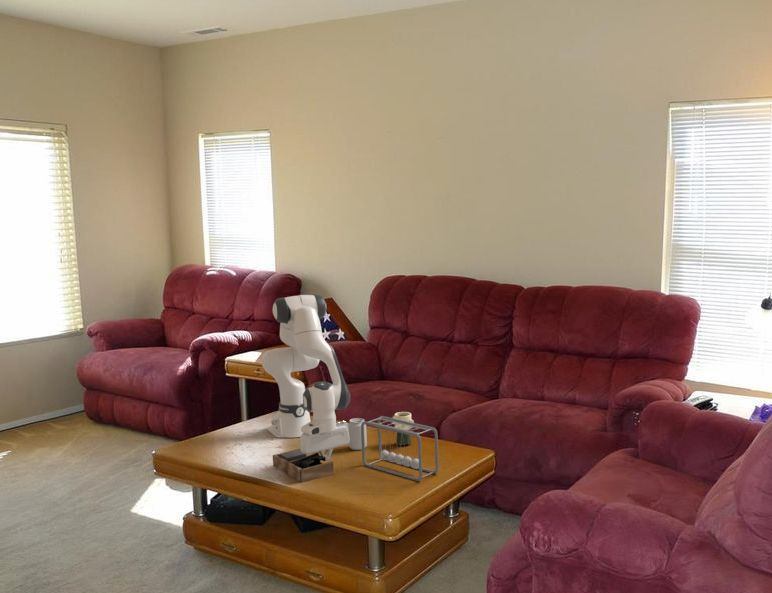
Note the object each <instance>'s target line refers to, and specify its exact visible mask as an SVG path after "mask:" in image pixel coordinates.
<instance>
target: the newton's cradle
mask: <svg viewBox="0 0 772 593" xmlns="http://www.w3.org/2000/svg"><path fill="white" fill-rule="evenodd" d="M375 421H377V422H375ZM381 421H383V422H381ZM386 422H387V425H385V424H383V423H386ZM389 422H390V424H389ZM393 422H394V423H398V424H402V428H403V425H407V426H409V427H410V426H411V427H413V428H414V429H413V428H412V430H409V431H408V430H404V428H403V429H399V428H395V426H390V425H392V424H393ZM364 425H366V426H371V427H373V428H374V427H375V428H377V438H378V440H377V441H378V442H377V443H378V455H379V458H380V459H377V460H375V461H372V462H370V463H368V462H367V461H366V447H365V443H364ZM393 425H394V424H393ZM399 426H400V425H399ZM396 427H397V426H396ZM406 428H407V427H406ZM382 429H383V430H385V431H386V434H385V435H386V436H385V438H387V437H388V440H390V439H389V436H388V434H389V433H388V432H389V431H391V432H393V433H397V432H399V433H403V434H407V435H409V436H410V438H411V439H412V437H415V438H416V440H417V446H416V449H415V452H414V451H412V454H413V455H415V454H417V453H418V454H417V455H418V458H417V457H416V456H413V459H412V458H411V456H408V455H409V453H407V452H406V450H404V453H405V456H404V455H402V453H400V452H397V454H396V453H395V452H393V450H394V448H392V449H391V447H389V448H390V452H389V450H387V449H385V448H386V445H387V443H386V442H385V444H384V442H383V441H382V440H383V438H382V437H383V436H382ZM418 429H420V430H421V429H422V430H424V431H422V432H419V431H417V432H415V431H414V430H418ZM429 431H432V432H433V433H434V456H435V458H434V460H435V462H434V463H435V466H434V467H435V470H434V469H433V470H432V469H429V468H425V467H423V458H422V456H423V454H422V451H423V450H422V438H421V436H420V434H424V433H426V432H429ZM403 434H401V438H402V436H403ZM411 436H412V437H411ZM438 436H439V435H438V430H437V429H436V428H435V427H434V426H429V425H425V424H424V425H423V424H419V423H415V422H414V423H411V422H407V421H403V420H398V419H394V418H393V417H389V416H385V415H380V416H379V417H378V418H374V419H372V420H369V421H364V422H362V424H361V441H362V450H361V459H362V463H363V465H364V466H365V467H367V468H371V469H374V470H378V471H380V472H385V473H388V474H391V475H395V476H398V477H401V478H405V479H409V480H410V481H411V480H413V481H414V482H415V481H416V482H420V481H421V480H422V479H423V478H425V477H427V476H430V475H432V474H433V475H436V474H438V473H439V469H440V468H439V439H438V438H439V437H438ZM395 439H397V435H394V437H393V439H392V442H393V443H394V440H395ZM403 442H404V440H403ZM395 443H396V445H398V444H397V441H396V440H395ZM388 444H389V446H391V443H390V441H388ZM410 444H413V442H412V440H411V443H410ZM410 444H409V443H408V444H407V448H409V445H410ZM384 445H385V447H382V446H384ZM399 446H400V447H399V448H398V446H396V450H401V448H402V445H399ZM403 446H404V447H403V448H404V449H406V446H405V445H403ZM413 447H414V445H411V449H412V450H414V448H413ZM382 449H383V450H382ZM417 450H418V452H417ZM414 453H415V454H414ZM380 461H386V462H389V463H394V464H396V465H401V466H403V467H408V468H412V469H415V470H418V477H416V476H412V475H408V474H405V473H401V472H399V471H394V470H391V469H387V468H384V467H381V466H377V465H374V464H375V463H377V462H380ZM423 472H425V473H426V474H425V475H423Z"/></svg>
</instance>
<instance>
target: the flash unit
mask: <svg viewBox="0 0 772 593" xmlns="http://www.w3.org/2000/svg"><path fill="white" fill-rule="evenodd" d="M294 450H295V451H292V450H290V451H291V452H288V451H286V452H287V453H284V452H282V453H283V454H281V458H283V459H285V460H287V461H293V460H296V459H300V458H303V457H306V456H308V454H307V455H306V454H304V453H302V452H301V450H296V449H294Z"/></svg>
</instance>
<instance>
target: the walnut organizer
mask: <svg viewBox="0 0 772 593" xmlns="http://www.w3.org/2000/svg"><path fill="white" fill-rule="evenodd" d="M295 450H300V448H296V449H293V450H289V451H285V452H280V453H276V454H272V466H273V467H274V468H275V469H277V470H278V471H281V472H283V473H284V474H286V475H288V476H289V477H291V478H293V479H295V480H296V481H298V482H301V483H305V482H308V481H312V480H315V479H320V478H323V477H327V476H330V475H333V474H334V472H335V471H334V470H335V469H334V462H333V461H327V462H323V464H319V465H316V466H312V467H308V468H304V469H302V468H300V467H298V466H296V465H295V462H296V461H297V460H298V459H296V460H293V461H287V460H285V459H283V458H281V454H283V453H287V452H291V451H295ZM300 459H301V458H300Z"/></svg>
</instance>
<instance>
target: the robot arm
mask: <svg viewBox="0 0 772 593" xmlns="http://www.w3.org/2000/svg"><path fill="white" fill-rule="evenodd" d="M272 314H273V317H274V319H275V321H277V322H278V323H280V325H279V338H280V341H281V342H282V343H284V344H285V345H286V346H289V347H278V348H273V349H269V350H267V351H265V352H264V353H263V355H262V356H261V366H262V369H263V370H264V372H266V373H267V374H269V375H271V377H272V378H274V379H275V381H276V382H277V385H278V390H279V397H280V401H279V403H278V411H277V413H275V414H274V415H273V416H272V419H271V425H269V426H268V427H267V429H266V430H267V431H269V433H270V434H272V435H273V436H274V437H275V438H288V439H289V438H292V439H293V438H300V439H299V441H300V442H299V449H300V450H301V452H302V453H304V454H306V455H307V456H308V455H311V454H314V453H319V455H320V456H323V457H325V458H326V461H327V462H328V461H330V460H331V455H332V453H333V451H334V448H339V447H341V446H347V445H349V441H350V439H349V432H348V423H349V422H347V421H345V420H341V421H337V416H336V412H335V411H337V410H338V411H339V410H344V409H346V408H347V407H348V406H349V404H350V402H351V394H350V390H349V388H348V386H347V383H346V381H345V379H344V376H343V373H342V369H341V365H340V364H339V360H338V357H337V354H336V352H335V349H334V347H333V346H332V345H331V344H329V343H328V342H327V340H325V338H324V335H323V331H322V325H321V319H323V318H324V317H325V316H326V314H327V303H326V300H325V298H324V297H323V295H320V294H299V295H292V296H287V297H278V298H276V299H275V301H273V305H272ZM320 361H321V362H323V363H324V364H326V367H327V369H328V371H329V375H330V378H331V382H332V383H331V382H328V381H323V380H321V381H316V382H314V383H313V385H312V386H311V387H307V388H306V386H305V383H304V382H302V380H299V379H297V378H295V377H292V373H294V372H302V371H309V370H311V369H315V368H317V367H318V366H319V363H320ZM311 412H312V420H311V417H310V416H311V415H310V413H311ZM326 450H327V451H326ZM325 451H326V454H325ZM326 461H325V462H326Z"/></svg>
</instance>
